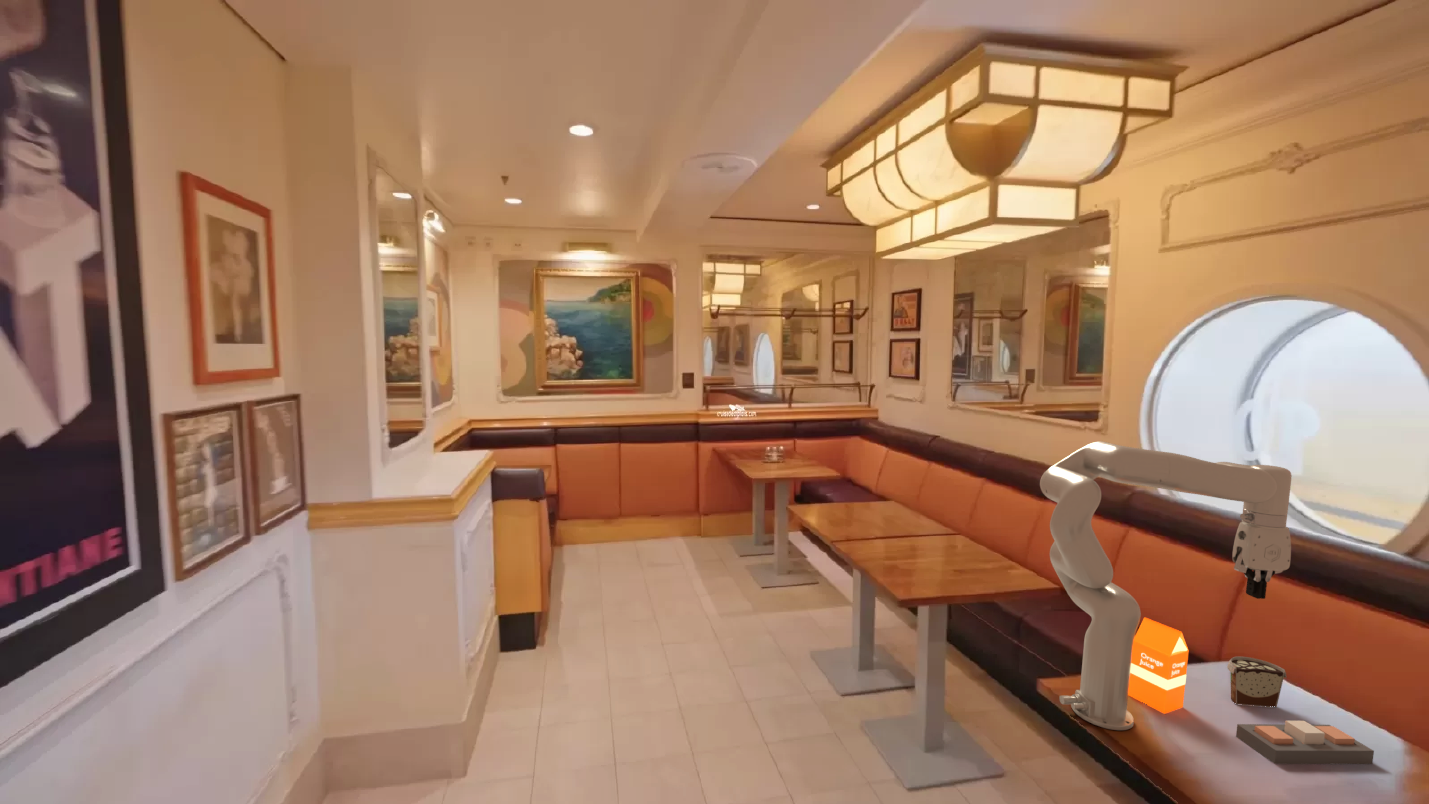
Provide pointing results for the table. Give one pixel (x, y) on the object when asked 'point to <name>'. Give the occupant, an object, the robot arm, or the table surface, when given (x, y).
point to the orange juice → (1158, 666)
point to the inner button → (1273, 735)
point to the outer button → (1336, 735)
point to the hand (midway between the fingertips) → (1255, 596)
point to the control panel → (1304, 749)
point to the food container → (1255, 681)
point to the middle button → (1304, 732)
